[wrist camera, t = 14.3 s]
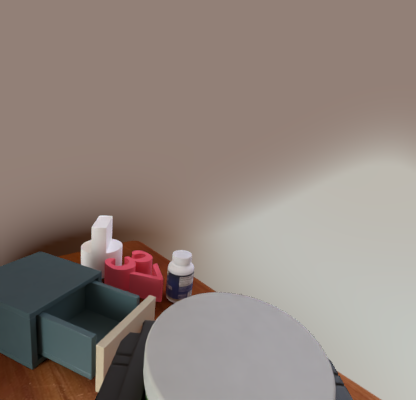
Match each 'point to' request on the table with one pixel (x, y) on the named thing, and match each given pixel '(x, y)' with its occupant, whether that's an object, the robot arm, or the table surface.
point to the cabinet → (34, 299)
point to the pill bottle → (179, 276)
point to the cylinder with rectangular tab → (101, 246)
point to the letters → (135, 275)
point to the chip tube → (233, 353)
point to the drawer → (91, 327)
